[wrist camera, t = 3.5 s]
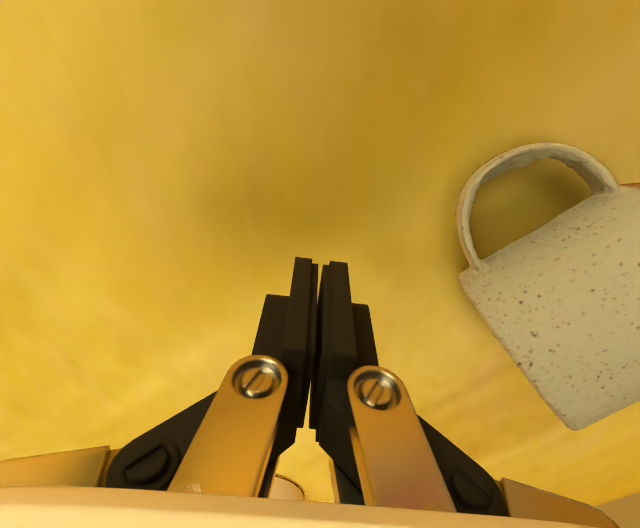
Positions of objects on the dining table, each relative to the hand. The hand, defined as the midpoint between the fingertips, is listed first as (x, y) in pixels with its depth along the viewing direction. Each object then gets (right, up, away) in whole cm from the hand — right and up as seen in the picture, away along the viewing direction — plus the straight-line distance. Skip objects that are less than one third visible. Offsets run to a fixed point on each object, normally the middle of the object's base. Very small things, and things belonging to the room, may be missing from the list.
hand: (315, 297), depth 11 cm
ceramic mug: (+11, +2, +6) cm, 12 cm away
